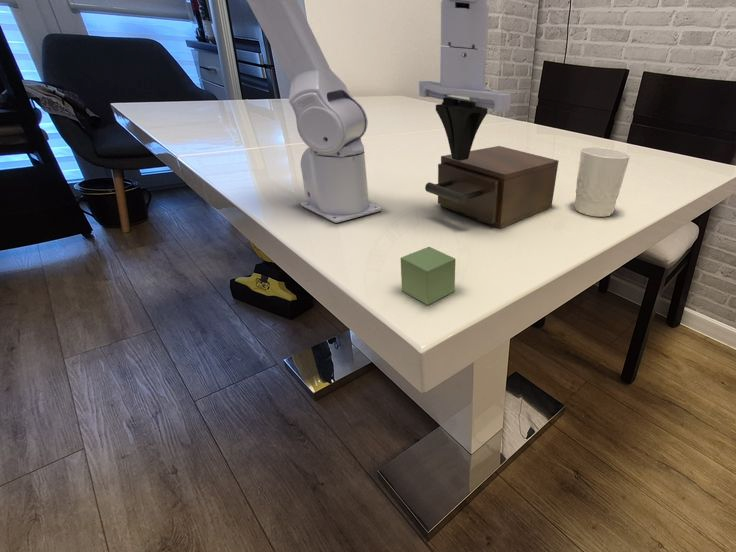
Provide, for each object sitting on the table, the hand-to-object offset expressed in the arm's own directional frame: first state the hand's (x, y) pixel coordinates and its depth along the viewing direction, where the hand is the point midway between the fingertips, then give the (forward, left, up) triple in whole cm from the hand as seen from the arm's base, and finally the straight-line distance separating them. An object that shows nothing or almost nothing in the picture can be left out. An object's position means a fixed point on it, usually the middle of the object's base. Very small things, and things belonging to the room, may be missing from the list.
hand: (460, 159), depth 57 cm
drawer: (0, +6, -8) cm, 10 cm away
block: (+12, -17, -9) cm, 23 cm away
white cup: (+12, +22, -10) cm, 27 cm away
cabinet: (0, +10, -9) cm, 13 cm away
